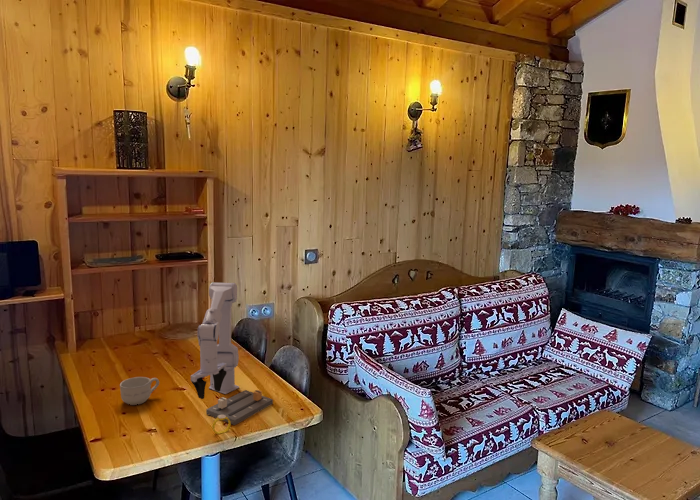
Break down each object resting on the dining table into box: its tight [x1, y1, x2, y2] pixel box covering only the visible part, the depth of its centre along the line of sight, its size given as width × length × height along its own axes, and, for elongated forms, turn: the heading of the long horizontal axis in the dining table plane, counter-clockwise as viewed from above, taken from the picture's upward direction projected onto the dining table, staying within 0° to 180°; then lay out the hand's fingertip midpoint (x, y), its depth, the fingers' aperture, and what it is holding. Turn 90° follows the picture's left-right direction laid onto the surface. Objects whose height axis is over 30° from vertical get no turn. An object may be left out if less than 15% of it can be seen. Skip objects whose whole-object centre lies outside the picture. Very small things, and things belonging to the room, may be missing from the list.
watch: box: [211, 415, 232, 435], centre depth 175 cm, size 6×3×6 cm, turn 122°
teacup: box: [119, 376, 160, 406], centre depth 196 cm, size 14×11×8 cm
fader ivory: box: [217, 397, 228, 409], centre depth 188 cm, size 2×2×3 cm
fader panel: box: [205, 389, 274, 426], centre depth 192 cm, size 14×20×2 cm
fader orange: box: [253, 389, 263, 401], centre depth 195 cm, size 2×2×3 cm
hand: (209, 394), depth 183 cm, fingers open, 7 cm apart
